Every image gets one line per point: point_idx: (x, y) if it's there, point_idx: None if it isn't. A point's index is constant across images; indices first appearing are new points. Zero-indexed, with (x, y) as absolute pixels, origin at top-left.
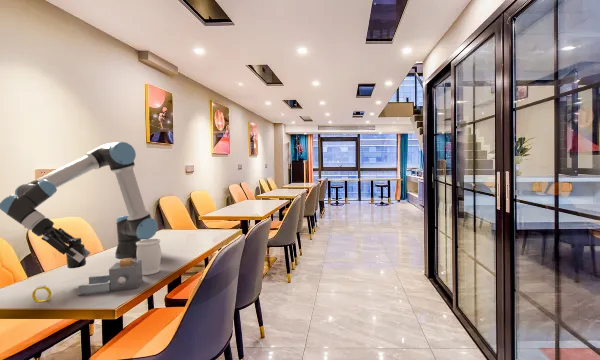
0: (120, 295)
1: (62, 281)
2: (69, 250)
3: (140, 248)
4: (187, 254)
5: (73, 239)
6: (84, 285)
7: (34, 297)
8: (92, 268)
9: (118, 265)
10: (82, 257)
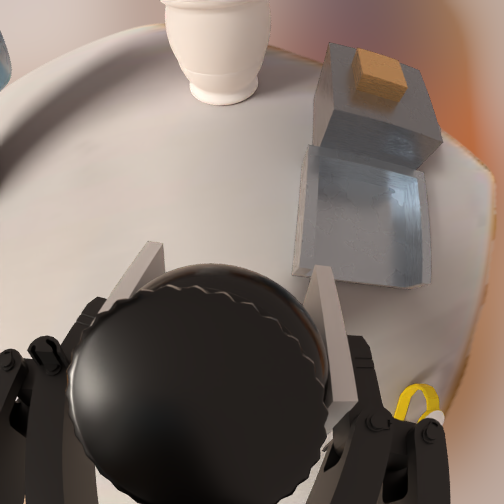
0: (434, 160)
1: None
2: (377, 397)
3: (255, 8)
4: (94, 44)
5: (227, 440)
6: (427, 259)
7: None
8: (23, 308)
9: (391, 105)
10: (330, 279)
